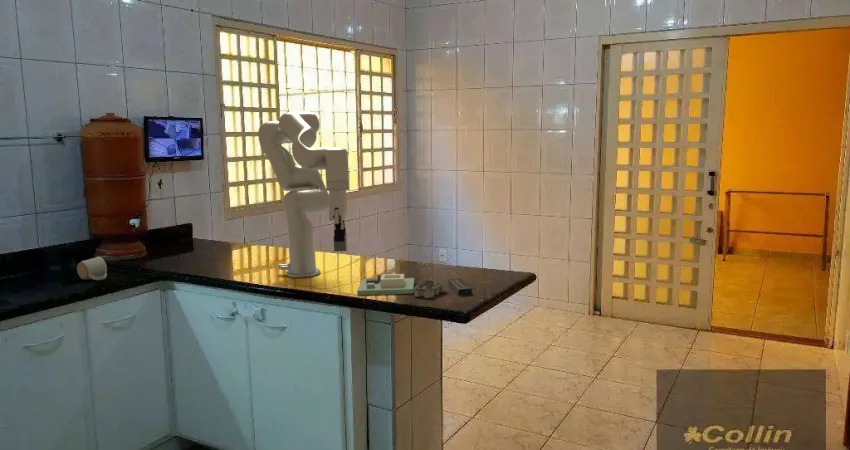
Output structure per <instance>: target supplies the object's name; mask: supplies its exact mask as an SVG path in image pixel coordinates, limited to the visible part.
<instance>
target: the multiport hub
mask: <svg viewBox="0 0 850 450" xmlns="http://www.w3.org/2000/svg"><path fill="white" fill-rule="evenodd" d="M447 281H448V286H449V287H450V288H451V289H452V290H453V292H455V293H456V295H458V296H470V295H471V296H472V294H473V292H472V291H473V290H472V289H473V288H472V287H471V286H470V285H468V284H467V283H466V281H464V280H463V278H449V279H448V280H447Z"/></svg>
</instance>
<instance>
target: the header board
mask: <svg viewBox="0 0 850 450" xmlns="http://www.w3.org/2000/svg"><path fill="white" fill-rule="evenodd" d="M413 288H415V277H408V278H407V277H405V273H392V274H391V273H390V274H389V273H388V274H387V273H386V274H380V273H379V274H377V277H375V278H366V279H364V278H363V279H361V281H360V283H359V286H358V288H357V289H356V290H357V296H377V295H378V296H379V295H407V294H408V295H409V294H410V295H412V294H413V295H414V290H413Z"/></svg>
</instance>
